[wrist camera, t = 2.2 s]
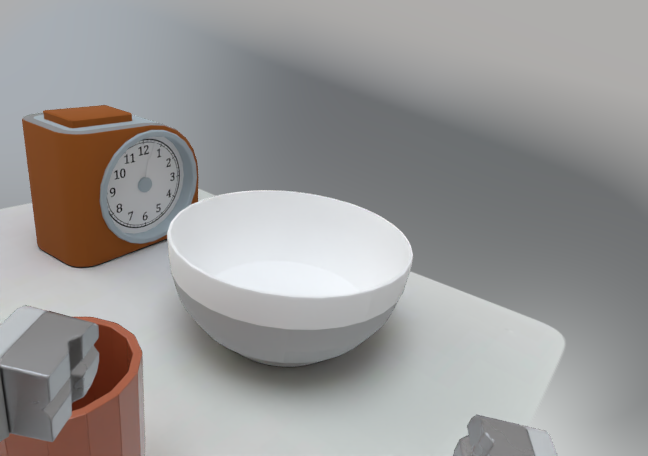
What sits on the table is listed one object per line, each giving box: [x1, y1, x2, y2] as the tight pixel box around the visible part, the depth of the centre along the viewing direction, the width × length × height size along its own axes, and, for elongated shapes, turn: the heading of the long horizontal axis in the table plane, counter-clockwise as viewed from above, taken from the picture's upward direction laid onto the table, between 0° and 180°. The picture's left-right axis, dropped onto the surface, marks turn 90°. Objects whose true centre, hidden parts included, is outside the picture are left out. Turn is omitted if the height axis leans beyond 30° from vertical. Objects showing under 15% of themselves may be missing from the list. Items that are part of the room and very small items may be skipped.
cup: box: [0, 317, 146, 456], centre depth 22 cm, size 7×7×10 cm
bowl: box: [167, 190, 413, 367], centre depth 40 cm, size 19×19×9 cm
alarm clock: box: [22, 105, 198, 267], centre depth 50 cm, size 15×8×14 cm, turn 147°
